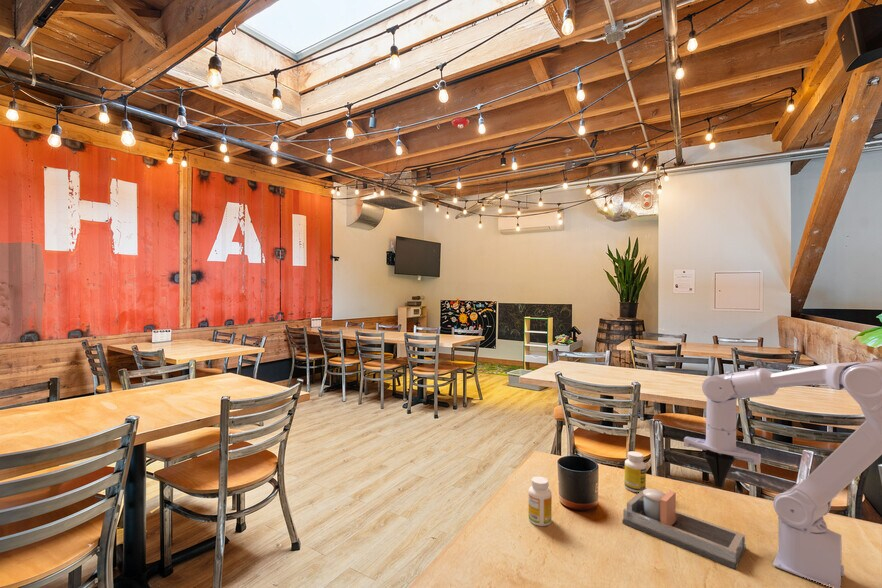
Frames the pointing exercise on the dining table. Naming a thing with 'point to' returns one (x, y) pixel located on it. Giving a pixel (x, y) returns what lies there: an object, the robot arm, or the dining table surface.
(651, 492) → the jar
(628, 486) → the supplement bottle
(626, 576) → the dining table surface
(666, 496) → the plate
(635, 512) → the pusher lane
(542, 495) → the supplement bottle
